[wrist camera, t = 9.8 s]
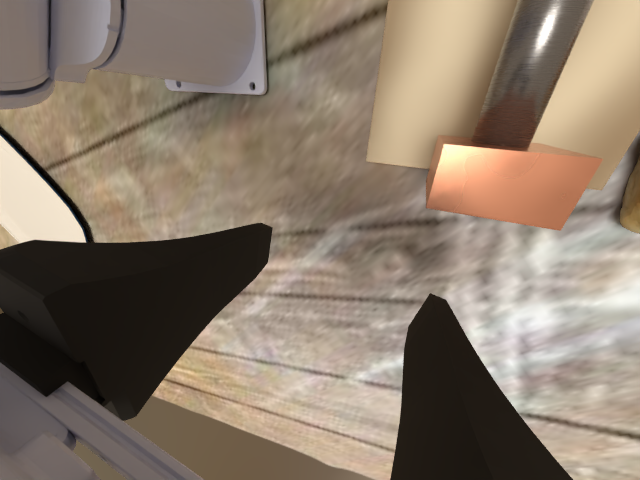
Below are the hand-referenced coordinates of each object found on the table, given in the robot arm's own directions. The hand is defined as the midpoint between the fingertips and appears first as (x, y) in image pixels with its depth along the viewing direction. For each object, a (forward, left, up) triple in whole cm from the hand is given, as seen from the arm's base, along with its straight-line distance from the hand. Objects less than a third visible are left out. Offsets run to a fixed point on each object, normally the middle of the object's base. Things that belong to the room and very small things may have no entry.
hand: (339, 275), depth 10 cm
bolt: (+5, +8, -7) cm, 12 cm away
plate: (-56, -11, -10) cm, 58 cm away
